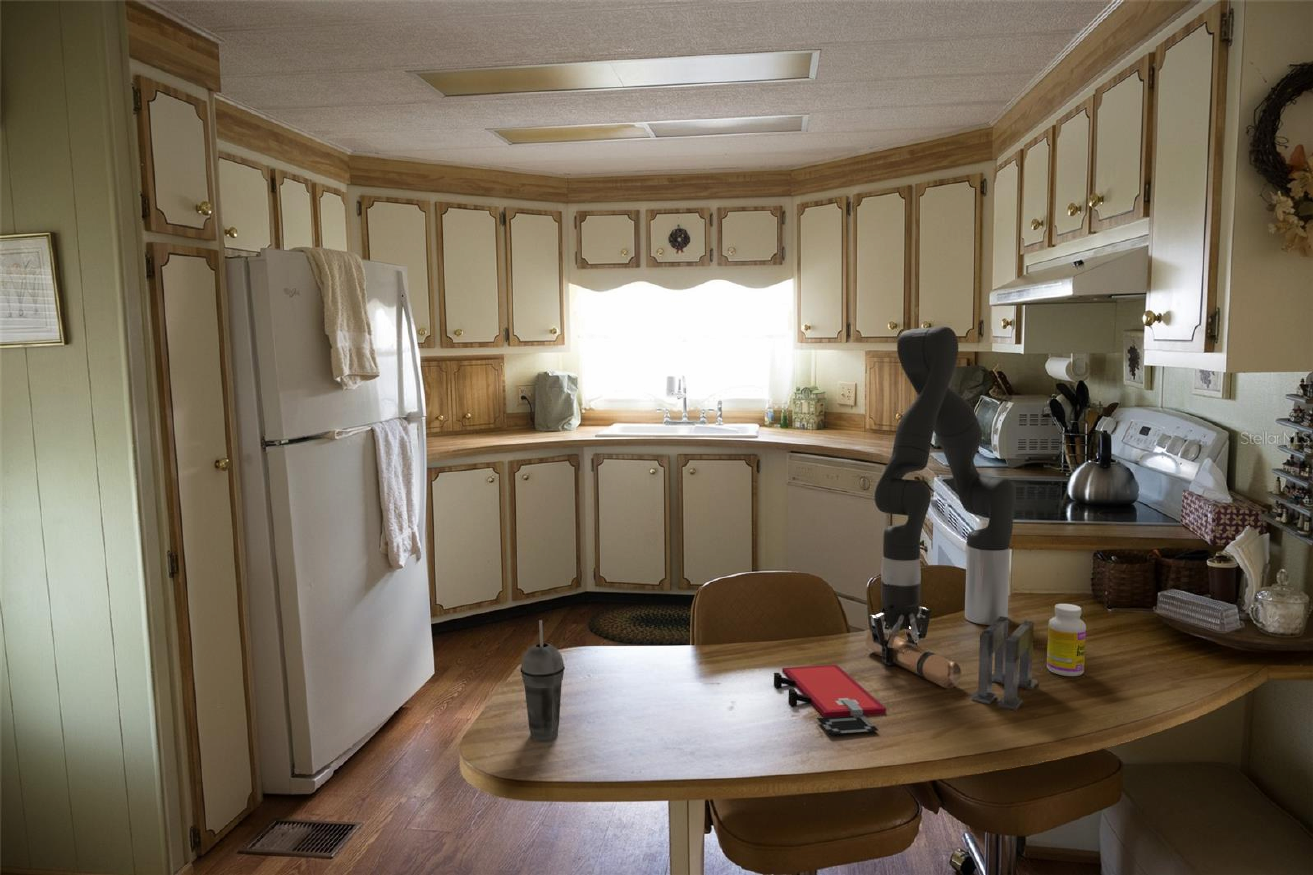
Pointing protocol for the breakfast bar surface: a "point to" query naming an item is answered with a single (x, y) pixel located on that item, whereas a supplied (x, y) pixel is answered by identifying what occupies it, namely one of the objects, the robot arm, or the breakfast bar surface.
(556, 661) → the beverage cup
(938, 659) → the tube
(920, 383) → the robot arm
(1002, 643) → the metal stand
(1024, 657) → the metal stand
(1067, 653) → the supplement bottle
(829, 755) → the breakfast bar surface
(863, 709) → the red board with handle
